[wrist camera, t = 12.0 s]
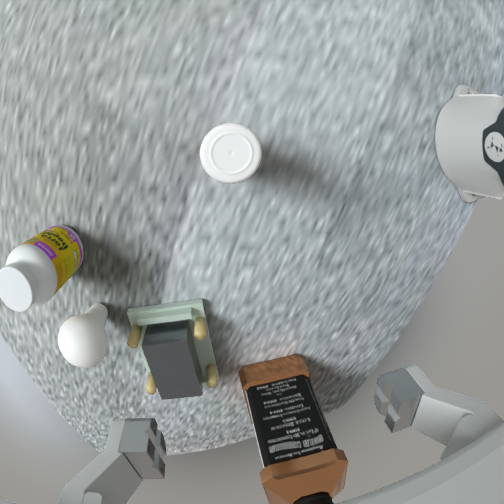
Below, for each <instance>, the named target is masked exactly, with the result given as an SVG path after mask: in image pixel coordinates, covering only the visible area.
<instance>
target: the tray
mask: <svg viewBox="0 0 504 504" xmlns="http://www.w3.org/2000/svg"><path fill="white" fill-rule="evenodd" d="M127 315H128V318H129V321H130V324H131V327H132V330H131V332H130V335H129V338H128V341H127V344H128V346H129V347H131V348H137V347H138V348H139V350H140V353H141V356H142V359H143V361H144V364H145V367H146V369H147V372H148V374H149V375H148V380H147V386H146V392H147V393H149V394H154V393H156V388H157V386H156V384H155V381H154V379H153V376H152V374H151V371H150V368H149V366H148V363H147V360H146V358H145V355H144V352H143V350H142V347H141V345H142V341H143V338H144V334H145V330H146V327H147V325H148V324H156V323H164V322H172V321H179V320H186V319H188V320H189V324H190V328H191V332H192V336H193V340H194V344H195V348H196V352H197V355H198V359H199V363H200V366H201V370H202V387H204V386H208V387H210V388H214V387H216V386H217V380H219V373H218V368H217V364H216V360H215V355H214V351H213V347H212V342H211V338H210V333H209V328H208V324H207V319H206V314H205V309H204V305H203V300H202V298H201V299H195V300H188V301H181V302H174V303H167V304H159V305H152V306H145V307H137V308H129V309H128V311H127Z"/></svg>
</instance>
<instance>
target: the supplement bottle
mask: <svg viewBox="0 0 504 504" xmlns="http://www.w3.org/2000/svg"><path fill="white" fill-rule="evenodd" d="M83 256H84V250H83V245H82V242H81V240H80V238H79V236H78V235H77V233H76V232H75V231H74V230H72V229H71V228H69V227H67V226H64V225H55V226H52V227H50V228H48V229H46V230H44V231H43V232H41V233H39V234H38V235H36V236H34V237H33V238H31V239H29V240H28V241H26V242H24V243H23V244H21V245H19V246H18V247H16V248H15V249H14V250H13V251H12V252H11V253H10V254H9V256H8V258H7V261H6V266H5V267H4V268H2V269H1V270H0V297H1V299H2V300H3V302H4V303H5V304H6V305H7V306H8V307H9V308H11V309H12V310H14V311H18V312H23V311H26V310H27V309H29V308H30V307H31V306H32V305H34V306H37V305H42V304H44V303H46V302H48V301H49V300H50V299H51V298H52V297H53V296H54V294H55V293H56V292H57V291H58V290H59V289H60V288H61V287H62V286H63V285H64V283H65V282H66V281H67V280H68V279H69V278H70V277H71V276H72V275H73V274H74V273H75V272H76V271H77V270H78V268H79V267H80V265H81V264H82V261H83Z"/></svg>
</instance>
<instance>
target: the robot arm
mask: <svg viewBox="0 0 504 504" xmlns="http://www.w3.org/2000/svg"><path fill="white" fill-rule="evenodd" d="M435 142H436V150H437V155H438V159H439V162H440V165H441V167H442V169H443V171H444V173H445V175H446V176H447V178H448V179H449V180H450V181H451V182H452V183H453V184H454V185H455V186H456V187H457V189H458V191H459V193H460V196H461V198H462V200H463V201H464V202H468V203H470V202H473V201H475V200H478V199H480V198H482V197H485V196H486V197H490V198H495V199H502V198H503V197H504V98H503V97H502V96H498V95H495V94H481V93H479V92H477V91H475V90H473V89H471V88H470V87H468V86H466V85H458V86H457V87H456V89H455V92H454V95H453V97H452V99H451V100H450V101H449V102H447V103H446V104H445V106H444V107H443V108H442V110H441V112H440V114H439V117H438V120H437V124H436V132H435ZM377 384H378V386H379V388H378V389H377V390H376V391H375V397H374V399H375V405H376V407H377V410H378V411H379V413H380V414H382V415H384V416H386V418H385V423H386V424H387V426H388V428H389V429H390V430H391V432H392V433H394V432H397V431H399V430H402V429H405V428H407V427H409V426H411V427H412V428H414V429H416V430H418V431H420V432H421V433H423V434H425V435H427V436H429V437H430V438H432V439H434V440H436V441H438V442H440V443H442V444H444V445H445V446H446V448H445V450H444V451H443V453H442V455H441V458H440V459H441V461H440V462H438V463H436V464H434V465H432V466H430V467H428V468H426V469H424V470H422V471H420V472H418V473H415V474H413V475H411V476H409V477H407V478H404V479H402V480H400V481H398V482H395V483H393V484H391V485H388V486H385V487H383V488H380V489H378V490H375V491H373V492H370V493H367V494H364V495H362V496H359V497H356V498H353V499H350V500H346V501H343V502H340V503H337V504H504V421H503V420H502V418H501V417H500V416H499V415H498V414H497V413H496V412H495V411H494V410H493V409H492V408H491V406H490V405H489V404H488V403H486V402H483V401H481V400H477V399H474V398H471V397H468V396H465V395H462V394H459V393H456V392H453V391H450V390H447V389H444V388H441V387H438V388H436V387H435V386H434V385H433V384H432V382H431V381H430V380H429V379H428V378H427V377H426V376H425V375H424V373H423V372H422V371H421V370H420V369H419V368H418V366H417V365H415V364H411V365H408V366H406V367H403V368H400V369H397V370H394V371H391V372H389V373H386V374H383V375H380V376H379V377H378V380H377ZM165 455H166V446H165V440H164V437H163V434H162V432H161V431H159V430H157V423H156V421H155V419H154V418H127V419H114V420H113V421H112V424H111V428H110V432H109V436H108V440H107V445H106V449H105V452H101V453H100V454H99V455H98V456H97V457H95V458H94V460H92V461H91V462H90V463H89V464H88V465H87V466H86V467H85V468H84V469H83V470H81V471H80V472H79V473H78V474H77V475H76V476H75V477H74V478H73V479H72V480H71V481H69V482H68V483H67V484H66V485H65V486H64V487H63V490H62V494H61V498H60V502H59V504H126V502H127V501H128V500H129V498H130V497H131V495H132V494H133V493H134V491H135V490H136V489H137V487H138V486H139V485H140V483H141V482H142V479H164V473H165V464H164V462H163V460H162V458H163V457H164V456H165ZM0 504H19V503H16V502H13V501H10V500H7V499H4V498H1V497H0Z"/></svg>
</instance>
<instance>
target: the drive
mask: <svg viewBox="0 0 504 504" xmlns="http://www.w3.org/2000/svg"><path fill="white" fill-rule="evenodd" d="M141 347H142V350H143V352H144V355H145V358H146V360H147V363H148V366H149V368H150V371H151V374H152V376H153V379H154V381H155V384H156V386H157V389H158V391H159V393H160V396H161V398H162V400H163V399H174V398H184V397H193V396H201V395H203V392H202V370H201V366H200V363H199V359H198V355H197V352H196V348H195V344H194V340H193V336H192V332H191V328H190V324H189V320H188V319H186V320H179V321H172V322H164V323H156V324H148V325H147V327H146V330H145V334H144V338H143V341H142V345H141Z"/></svg>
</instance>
